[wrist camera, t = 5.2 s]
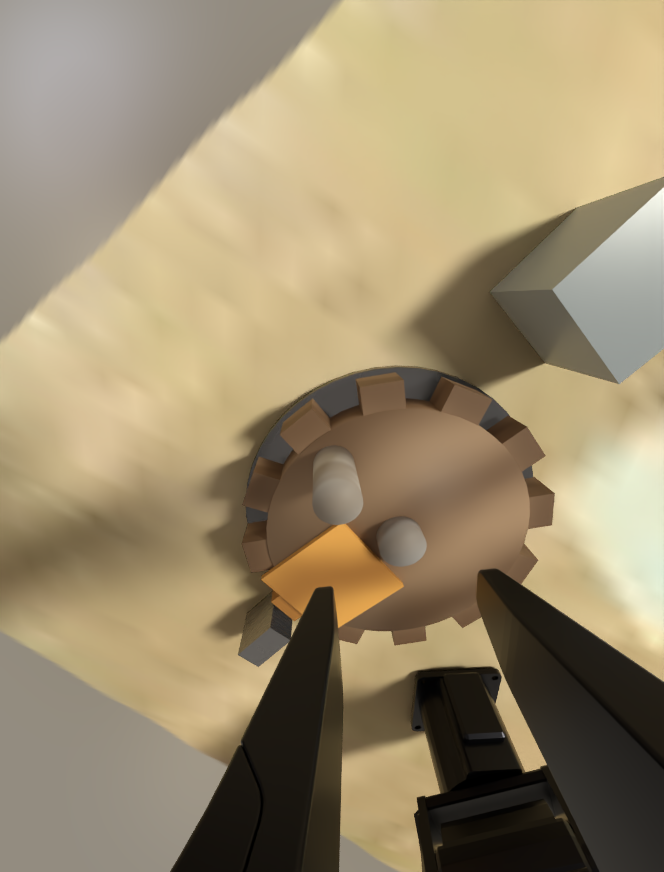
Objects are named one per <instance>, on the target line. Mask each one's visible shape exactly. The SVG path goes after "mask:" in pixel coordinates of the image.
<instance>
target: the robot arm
mask: <svg viewBox="0 0 664 872" xmlns="http://www.w3.org/2000/svg"><path fill="white" fill-rule="evenodd" d="M476 601H477V606H478V609H479V611H480V614H481V617H482V619H483V622H484V625H485V627H486V630H487V632H488V635H489V638H490V640H491V643H492V646H493V648H494V651H495V654H496V656H497V659H498V662H499V664H500V667H501V669H502V672H503V674H504V677H505V679H506V681H507V683H508V686H509V688H510V690H511V692H512V694H513V696H514V698H515V700H516V702H517V704H518V706H519V708H520V710H521V712H522V714H523V716H524V718H525V720H526V722H527V725H528V727H529V729H530V731H531V733H532V735H533V737H534V739H535V741H536V743H537V745H538V747H539V749H540V751H541V753H542V755H543V757H544V759H545V761H546V763H547V765H545V766H541V767H540V768H541V769H537V770H533V771H529V772H525V770H524V768H523V766H522V763H521V761H520V759H519V757H518V754H517V752H516V750H515V748H514V745H513V743H512V741H511V739H510V736H509V734H508V732H507V730H506V727H505V725H504V723H503V721H502V718H501V716H500V714H499V711H498V709H497V707H496V705H495V703H496V699H497V695H498V690H499V686H500V682H501V678H502V677H501V674H500V672H499V670H498V669H494V668H492V669H472V670H452V671H432V672H420V673H418V674H417V675H416V678H415V687H414V696H413V705H412V715H411V726H412V730H414V731H425V734H426V738H427V742H428V746H429V750H430V754H431V758H432V762H433V766H434V769H435V773H436V777H437V781H438V785H439V789H440V793H441V794H437V795H433V796H429V797H425V796H421V797H417V803H418V809H419V810H418V811H417V812H416V813H415V814H414V817H415V823H416V828H417V833H418V839H419V844H420V851H421V861H422V872H664V682H663V681H662V680H660V679H659V678H657V677H656V676H655V675H653V674H652V673H650V672H649V671H647V670H646V669H644V668H643V667H641V666H640V665H638V664H637V663H635V662H634V661H633V660H631V659H630V658H628V657H627V656H625V655H624V654H622V653H621V652H619V651H618V650H616V649H615V648H614V647H612V646H611V645H609V644H608V643H606V642H605V641H603V640H602V639H600V638H599V637H597V636H596V635H594V634H593V633H592V632H590V631H589V630H587V629H586V628H584V627H583V626H581V625H580V624H578V623H577V622H575V621H574V620H572V619H571V618H570V617H568V616H567V615H565V614H564V613H562V612H561V611H559V610H558V609H556V608H555V607H553V606H552V605H550V604H549V603H548V602H546V601H545V600H543V599H542V598H540V597H539V596H537V595H536V594H534V593H533V592H531V591H530V590H528V589H527V588H526V587H524V586H523V585H521V584H520V583H518V582H517V581H515V580H514V579H512V578H511V577H509V576H508V575H506V574H505V573H504V572H502V571H501V570H499V569H496V568H491V569H482V570H479V572H478V575H477V589H476ZM342 733H343V683H342V670H341V658H340V645H339V633H338V620H337V611H336V603H335V596H334V589H333V587H331V586H327V587H318V588H316V589H315V590H314V592H313V594H312V596H311V598H310V600H309V602H308V604H307V606H306V608H305V610H304V612H303V614H302V616H301V618H300V620H299V622H298V625H297V627H296V629H295V631H294V633H293V635H292V637H291V639H290V641H289V643H288V645H287V647H286V649H285V651H284V653H283V655H282V657H281V659H280V661H279V664H278V666H277V668H276V670H275V672H274V674H273V676H272V678H271V680H270V682H269V684H268V686H267V688H266V690H265V692H264V694H263V696H262V698H261V700H260V702H259V705H258V707H257V709H256V711H255V713H254V715H253V717H252V719H251V721H250V723H249V725H248V727H247V729H246V731H245V733H244V735H243V737H242V739H241V745H239V746H238V747H237V749H236V751H235V753H234V755H233V757H232V760H231V762H230V764H229V766H228V768H227V770H226V772H225V774H224V776H223V778H222V780H221V781H220V783H219V786H218V787H217V789H216V791H215V793H214V795H213V797H212V799H211V801H210V803H209V805H208V807H207V809H206V810H205V812H204V814H203V816H202V818H201V819H200V821H199V823H198V824H197V826H196V828H195V830H194V831H193V833H192V835H191V837H190V838H189V840H188V842H187V844H186V845H185V847H184V849H183V851H182V852H181V854H180V856H179V858H178V859H177V861H176V863H175V864H174V866H173V868H172V869H171V871H170V872H339V848H340V811H341V772H342ZM555 818H556V819H555Z"/></svg>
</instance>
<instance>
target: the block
mask: <svg viewBox="0 0 664 872" xmlns="http://www.w3.org/2000/svg"><path fill="white" fill-rule="evenodd" d="M490 293H491V295H492V296H493V297H494V298H495V300H496V301H497V302H498V304H499V305H500V306H501V307H502V309H503V310H504V311H505V313H506V314H507V315H508V316H509V318H510V319H511V320H512V322H513V323H514V324H515V325H516V327H517V328H518V329H519V330H520V332H521V333H522V334H523V336H524V337H525V338H526V339H527V341H528V342H529V343H530V345H531V346H532V347H533V348H534V350H535V351H536V352H537V354H538V355H539V356H540V357H541V359H542V360H543V361H544V363H546V364H550V365H553V366H557V367H561V368H564V369H568V370H571V371H575V372H578V373H582V374H585V375H589V376H593V377H596V378H600V379H603V380H607V381H610V382H614V383H617V384H620V383H621V382H623V381H624V380H625V379H626V378H628V377H629V376H630V375H631V374H633V373H634V372H635V371H636V370H638V369H639V368H640V367H641V366H643V365H644V364H645V363H646V362H648V361H649V360H650V359H651V358H653V357H654V356H655V355H656V354H658V353H659V352H660V351H661V350H663V349H664V177H662V178H659V179H656V180H654V181H651V182H648V183H645V184H642V185H639V186H637V187H634V188H631V189H628V190H625V191H622V192H620V193H617V194H614V195H611V196H608V197H605V198H603V199H600V200H597V201H594V202H591V203H588V204H586V205H583V206H580V207H577V208H576V209H575V210H574V211H573V212H572V213H571V214H570V215H569V216H568V217H567V218H566V219H565V220H564V221H563V222H562V223H561V224H560V225H558V226H557V227H556V228H555V229H554V230H553V231H552V232H551V233H550V234H549V235H548V236H547V237H546V238H545V239H544V240H543V241H542V242H541V243H540V244H539V245H538V246H537V247H536V248H535V249H534V250H533V251H532V252H530V253H529V254H528V255H527V256H526V257H525V258H524V259H523V260H522V261H521V262H520V263H519V264H518V265H517V266H516V267H515V268H514V269H513V270H512V271H511V272H510V273H509V274H508V275H507V276H506V277H505V278H504V279H503V280H501V281H500V282H499V283H498V284H497V285H496V286H495V287H494V288H493V289H492V290H491V291H490Z"/></svg>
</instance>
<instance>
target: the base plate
mask: <svg viewBox="0 0 664 872" xmlns="http://www.w3.org/2000/svg"><path fill="white" fill-rule="evenodd" d="M394 372H396V373H397V374H398V375H399V376H400V377H401V378H402V379H403V380H404V389H405V398H409V399H419V400H425V401H430V399H431V397H432V395H433V393H434V391H435V389H436V387H437V385H438V383H439V381H440V379H441V377H444V378H446V379H449V380H452V381H454V382H457V383H459V384H462V385H464V386H467V387H469V388H472V389H474V390H477V391H479V392H480V393H482V394H484V395H486V396H487V397H489V398H491V397H490V396H489V395H487V394H486V393H484V392H483V391H481V390H480V389H479V388H477V387H475V386H473V385H471V384H469V383H467V382H465V381H463V380H461V379H459V378H457V377H455V376H452V375H449V374H446V373H443V372H440V371H437V370H432V369H427V368H421V367H413V366H387V367H375V368H370V369H366V370H361V371H357V372H353V373H350V374H347V375H344V376H342V377H339V378H336V379H333V380H331V381H330V382H328V383H326V384H324V385H322V386H320V387H318V388H316V389H314V390H313V391H311V392H310V393H308V394H307V395H306V396H304V397H303V398H301V399H300V400H298V401H297V402H296V403H295V404H294V405H293V406H292V407H291V408H289V409H288V410H287V411H286V412H285V413H284V414H283V415H282V416H281V417H280V419H279V420H278V421H277V422H276V423H275V425H274V426H273V427H272V428H271V430H270V431H269V433H268V434H267V436H266V438H265V439H264V441H263V443H262V444H261V446H260V448H259V451H258V453H257V455H256V458H255V460H254V462H253V465H252V468H251V472H250V476H249V479H248V483H247V489H248V486H249V483H250V480H251V477H252V474H253V471H254V469H255V466H256V463H257V460H258V458H259V457H262V458H265V459H268V460H271V461H275V462H278V463H281V464H284V462H285V461H286V459H287V458H288V456H289V454H290V453H291V451H292V450H293V448H292V447H291V446H290V445H289V444H288V443H287V442H286V441H285V440H284V439H283V438H282V437H281V436H280V432H281V428H282V424H283V422H284V421H285V420H287V419H288V418H289V417H290V416H291V415H293V414H294V413H295V412H296V411H298V410H299V409H300V408H301V407H302V406H304V405H305V404H306V403H307V402H309V401H310V400H311V399H312V398H313V399H314V400H315V402H316V403H317V404H318V405H319V406H320V407H321V409H322V410H323V411H324V412H325V413H326V414H327V415H328V417H329V418H330V417H332V416H334V415H336V414H338V413H339V412H341V411H343V410H346V409H349V408H351V407H354V406H357V405H359V400H358V393H357V386H356V379H358V378H364V377H370V376H376V375H382V374H388V373H394ZM491 399H493V398H491ZM506 416H509V414H508V413H507V412H506V411H505V410H504V409H503V408H502V407H501V406H500V405H499V404H498V403H497V402H496V401H495V400H494V399H493V400H492V401H491V403H490V405H489V407H488V409H487V410H486V412H485V414H484V416H483V418H482V419H481V421H480V423H479V425H480V426H481V427H482V428H484V429H485V430H488V429H489V428H491V427H492V426H494V425H495V424H496V423H498V422H499V421H501V420H502V419H504V418H505V417H506ZM522 474H523V476H524V479H526V478H532V477H533V471H532V465H531V466H530V467H528V468H527V469H525V470H524V471H522ZM246 517H247V522H248V523H253V522H259V521H265V520H267V519H268V513H267V512H264V511H260V510H257V509H253V508H250V507H246Z"/></svg>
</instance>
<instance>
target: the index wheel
mask: <svg viewBox="0 0 664 872" xmlns="http://www.w3.org/2000/svg"><path fill="white" fill-rule="evenodd" d="M356 386H357V393H358V400H359V405H357V406H354V407H351V408H349V409H346V410H343V411H341V412H339V413H338V414H336V415H334V416H332V417H330V418H329V417H328V415H327V414H326V413H325V412H324V411H323V410H322V409H321V407H320V406H319V405H318V404H317V403H316V402H315V400H314V399H313V398H312V399H311V400H310V401H309V402H307V403H306V404H305V405H304V406H302V407H301V408H300V409H299V410H298V411H296V412H295V413H294V414H293V415H291V416H290V417H289V418H288V419H287V420H285V421H284V422H283V424H282V428H281V432H280V436H281V437H282V438H283V439H284V440H285V441H286V442H287V443H288V444H289V445H290V446H291V447H292V448H293V450H292V451H291V453H290V454H289V456H288V458H287V459H286V461H285V462H284V464H281V463H278V462H275V461H271V460H268V459H265V458H262V457H259V458H258V460H257V463H256V466H255V469H254V471H253V474H252V477H251V480H250V483H249V486H248V489H247V492H246V495H245V498H244V501H243V504H242V505H243V506H246V507H250V508H253V509H257V510H260V511H264V512H267V513H268V519H267V520H265V521H259V522H253V523H248V525H247V528H246V531H245V534H244V538H243V541H242V546H243V549H244V552H245V556H246V559H247V562H248V565H249V568H250V571H251V573H252V572H259V571H265V570H269V571H268V572H266V573H265V574H263V575H262V578H261V580H262V581H263V582H264V583H266V584H267V585H268V586H269V587H270V588H272V589H273V592H272V599H271V602H272V603H273V604H274V605H275V606H277V607H278V608H279V609H280V610H281V611H283V612H284V613H285V614H286V615H287V616H289V617H290V618H291V619H292V620H293V621H295V620H297V619H298V618H300V617H301V616H302V614H303V612H304V610H305V608H306V606H307V604H308V602H309V600H310V598H311V596H312V594H313V592H314V590H315V589H316V588H318V587H327V586H331V587H333V589H334V596H335V603H336V611H337V620H338V633H339V640H342V641H346V642H351V643H355V644H357V643H358V641H359V640H360V638H361V636H362V634H363V632H364V630H372V631H391V632H392V636H393V641H394V645H400V644H407V643H413V642H420V641H426V630H425V626H427V625H430V624H434V623H437V622H440V621H442V620H445V619H447V618H450V617H453V618H454V619H455V620H456V621H457V622H458V624H459V625H460V626H461V627H462V628H463V627H465V626H467V625H469V624H470V623H472V622H474V621H475V620H477V619H479V618H481V614H480V611H479V609H478V606H477V601H476V589H477V575H478V572H479V570H482V569H491V568H496V569H499V570H501V571H502V572H504V573H505V574H506V575H508V576H509V577H511V578H512V579H514V580H515V581H517V582H518V583H520V584H521V583H522V582H523V581H524V579H525V578H526V577H527V575H528V574H529V572H530V571H531V570H532V568H533V567H534V565H535V564H536V563H537V561H538V559H537V558H536V557H535V556H534V555H533V553H532V552H531V551H530V550H529V549H528V548H527V546H526V545H525V544H524V541H525V537H526V534H527V530H528V529H531V528H537V527H543V526H550V525H552V518H553V506H554V494H555V493H553V492H552V491H551V490H550V489H548V488H547V487H546V486H545V485H544V484H542V483H541V482H540V481H539V480H537V479H536V478H535V477H532V478H526V479H524V476H523V474H522V471H524V470H525V469H527V468H528V467H530V466H531V465H533V464H534V463H536V462H537V461H539V460H540V459H542V458H543V457H545V454H544V453H543V451H542V450H541V448H540V446H539V445H538V443H537V442H536V440H535V439H534V437H533V435H532V434H531V432H530V431H529V429H528V428H527V427H526V426H525V425H523V424H521V423H520V422H518V421H516V420H515V419H513V418H511V417H510V416H506V417H505V418H504V419H502V420H501V421H499V422H498V423H496V424H495V425H494V426H492V427H491V428H489V429H488V430H485V429H484V428H482V427H481V426H480V425H479V423H480V421H481V419H482V418H483V416H484V414H485V412H486V410H487V409H488V407H489V405H490V403H491V401H492V400H493V399H491V398H489V397H487V396H486V395H484V394H482V393H480V392H479V391H477V390H474V389H472V388H469V387H467V386H464V385H462V384H459V383H457V382H454V381H452V380H449V379H446V378H444V377H441V379H440V381H439V383H438V385H437V387H436V389H435V391H434V393H433V395H432V397H431V399H430V401H425V400H419V399H409V398H405V389H404V380H403V379H402V378H401V377H400V376H399V375H398V374H397V373H396V372H394V373H388V374H382V375H376V376H370V377H364V378H358V379H356Z"/></svg>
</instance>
